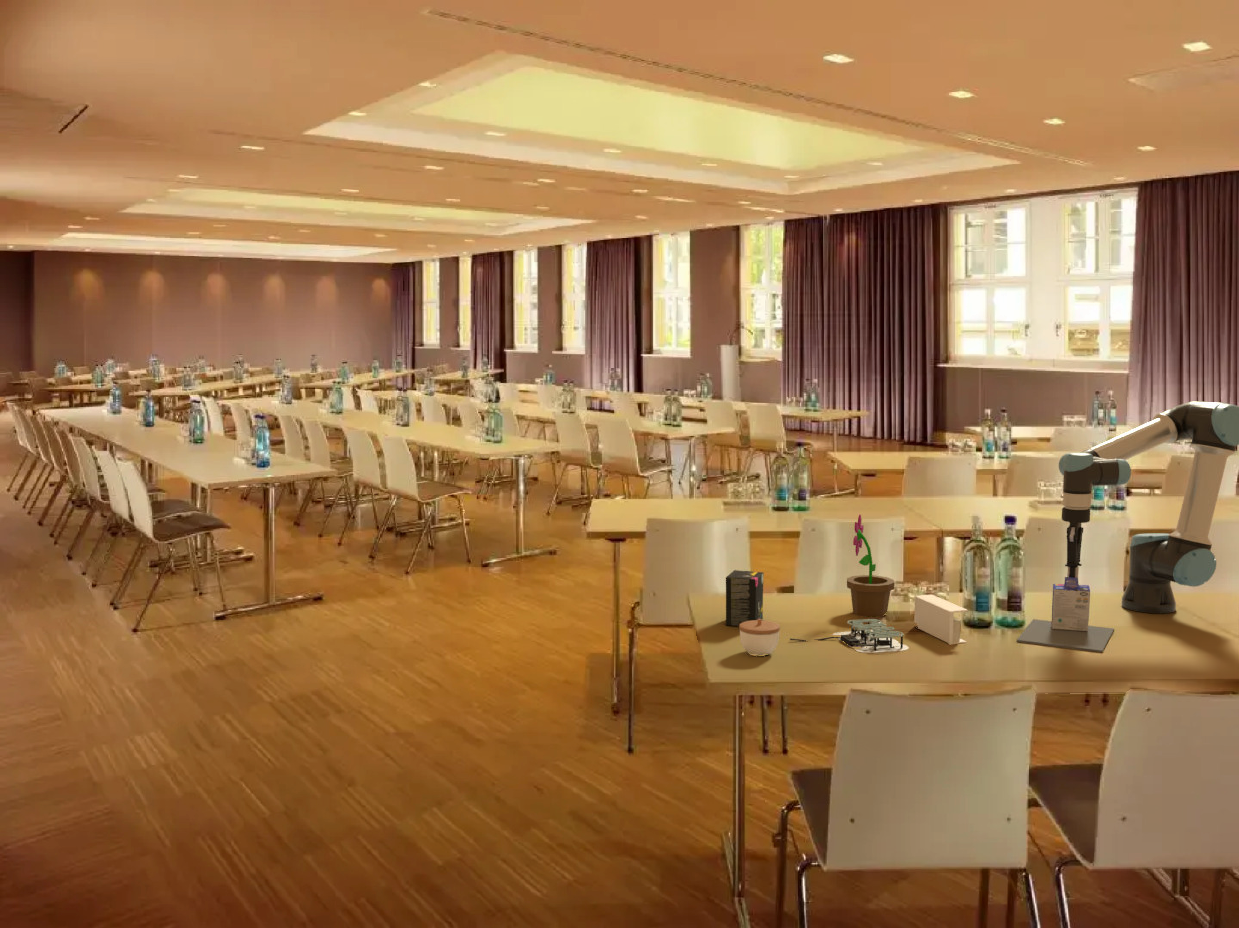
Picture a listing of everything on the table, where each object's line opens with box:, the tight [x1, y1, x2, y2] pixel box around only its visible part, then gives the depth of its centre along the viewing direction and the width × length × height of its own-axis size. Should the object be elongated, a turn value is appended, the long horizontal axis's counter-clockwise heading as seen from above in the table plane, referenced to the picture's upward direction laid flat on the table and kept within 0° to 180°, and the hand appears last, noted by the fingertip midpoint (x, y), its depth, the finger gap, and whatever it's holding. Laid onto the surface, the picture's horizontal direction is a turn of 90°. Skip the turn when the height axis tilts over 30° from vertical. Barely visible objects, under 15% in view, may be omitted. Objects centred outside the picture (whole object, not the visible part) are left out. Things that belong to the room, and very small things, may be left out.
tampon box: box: [725, 569, 764, 627], centre depth 337 cm, size 11×9×15 cm
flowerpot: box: [846, 514, 895, 619], centre depth 346 cm, size 14×14×30 cm
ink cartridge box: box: [1051, 576, 1091, 631], centre depth 325 cm, size 10×6×14 cm, turn 73°
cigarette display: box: [913, 594, 969, 646], centre depth 324 cm, size 20×6×9 cm, turn 16°
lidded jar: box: [738, 619, 781, 655], centre depth 306 cm, size 11×11×9 cm
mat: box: [1016, 618, 1115, 654], centre depth 321 cm, size 25×22×1 cm
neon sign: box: [789, 618, 910, 654], centre depth 316 cm, size 21×4×29 cm
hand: (1072, 588), depth 328 cm, fingers closed
